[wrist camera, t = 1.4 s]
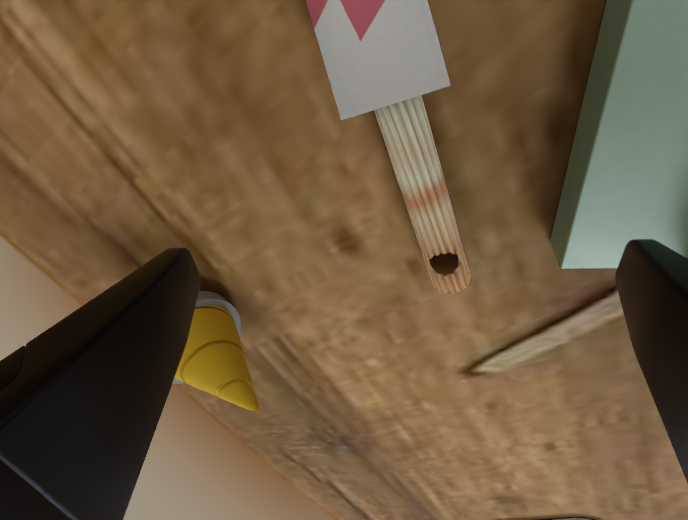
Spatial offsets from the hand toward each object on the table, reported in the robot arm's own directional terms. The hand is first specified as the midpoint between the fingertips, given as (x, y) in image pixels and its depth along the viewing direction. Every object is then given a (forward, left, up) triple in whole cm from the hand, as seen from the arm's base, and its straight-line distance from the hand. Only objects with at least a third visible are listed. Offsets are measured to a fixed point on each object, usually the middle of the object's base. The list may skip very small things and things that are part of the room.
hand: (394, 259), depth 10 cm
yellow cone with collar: (-12, +11, -11) cm, 19 cm away
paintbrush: (0, 0, -11) cm, 11 cm away
